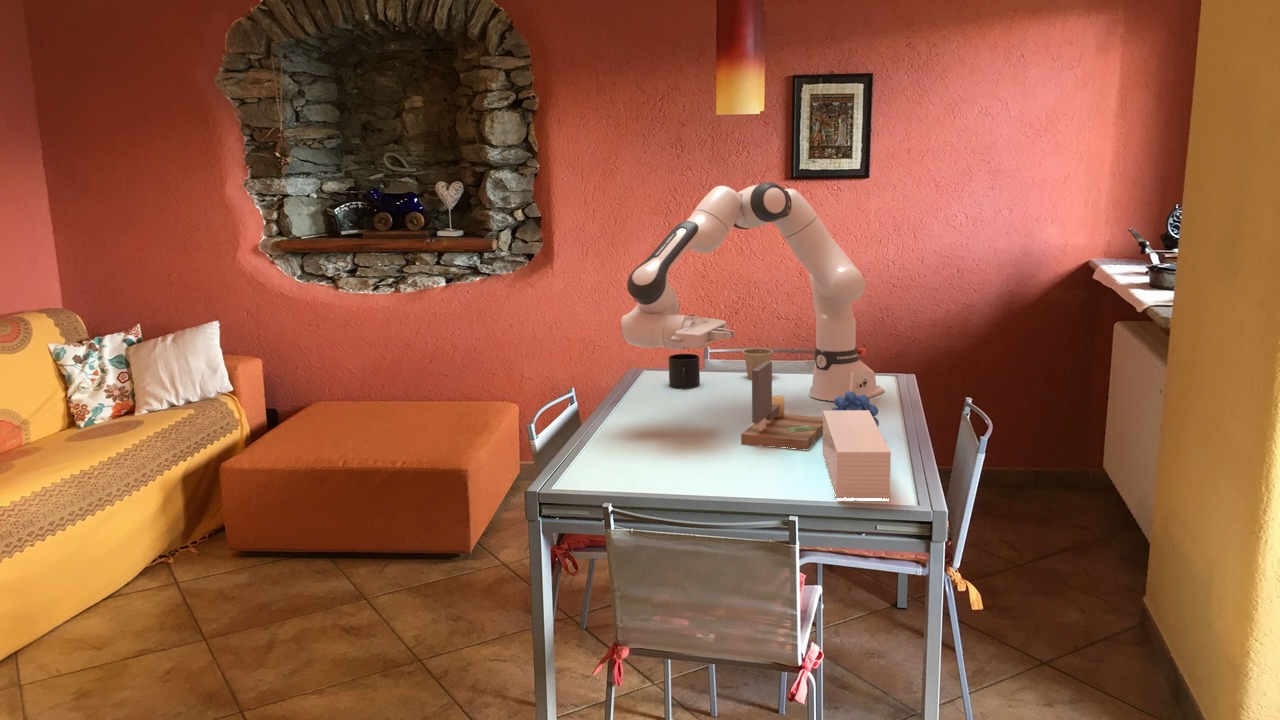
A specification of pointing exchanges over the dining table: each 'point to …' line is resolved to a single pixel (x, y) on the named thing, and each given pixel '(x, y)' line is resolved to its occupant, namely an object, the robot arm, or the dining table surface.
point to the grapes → (856, 404)
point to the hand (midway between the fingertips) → (732, 335)
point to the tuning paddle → (764, 396)
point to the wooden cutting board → (785, 432)
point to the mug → (684, 371)
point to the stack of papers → (855, 454)
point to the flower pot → (755, 358)
